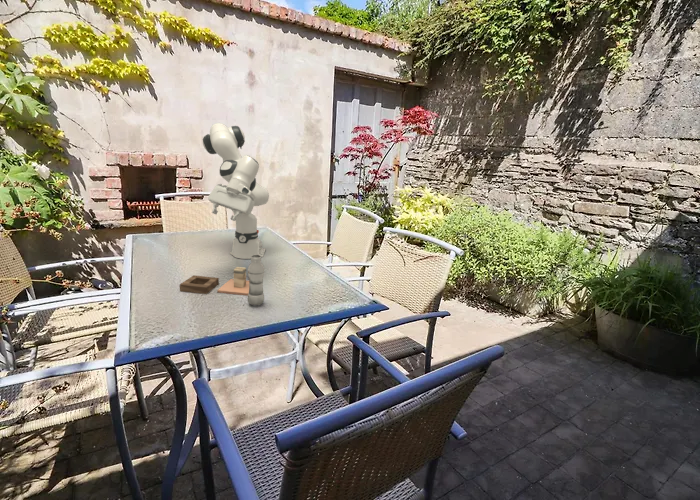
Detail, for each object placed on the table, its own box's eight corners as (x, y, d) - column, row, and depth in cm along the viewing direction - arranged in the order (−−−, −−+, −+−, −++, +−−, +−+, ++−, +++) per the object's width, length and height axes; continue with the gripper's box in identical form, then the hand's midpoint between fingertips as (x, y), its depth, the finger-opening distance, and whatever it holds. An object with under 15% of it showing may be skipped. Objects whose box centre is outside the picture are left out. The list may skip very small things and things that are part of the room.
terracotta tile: (230, 280, 161) (230, 278, 161) (260, 283, 161) (260, 281, 160) (217, 292, 148) (217, 290, 148) (249, 295, 147) (249, 293, 147)
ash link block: (237, 283, 156) (237, 266, 154) (246, 284, 156) (246, 267, 154) (233, 287, 152) (233, 269, 150) (242, 288, 152) (242, 270, 150)
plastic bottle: (247, 308, 136) (247, 259, 131) (247, 300, 142) (247, 253, 137) (264, 307, 138) (265, 258, 133) (263, 300, 144) (264, 253, 139)
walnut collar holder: (193, 281, 157) (193, 275, 156) (218, 284, 157) (218, 277, 156) (179, 291, 146) (179, 284, 145) (206, 294, 146) (206, 287, 145)
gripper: (214, 179, 154) (199, 206, 151) (254, 192, 150) (240, 221, 147) (220, 186, 160) (206, 212, 157) (259, 199, 156) (246, 226, 153)
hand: (223, 216), depth 152 cm, fingers open, 8 cm apart
